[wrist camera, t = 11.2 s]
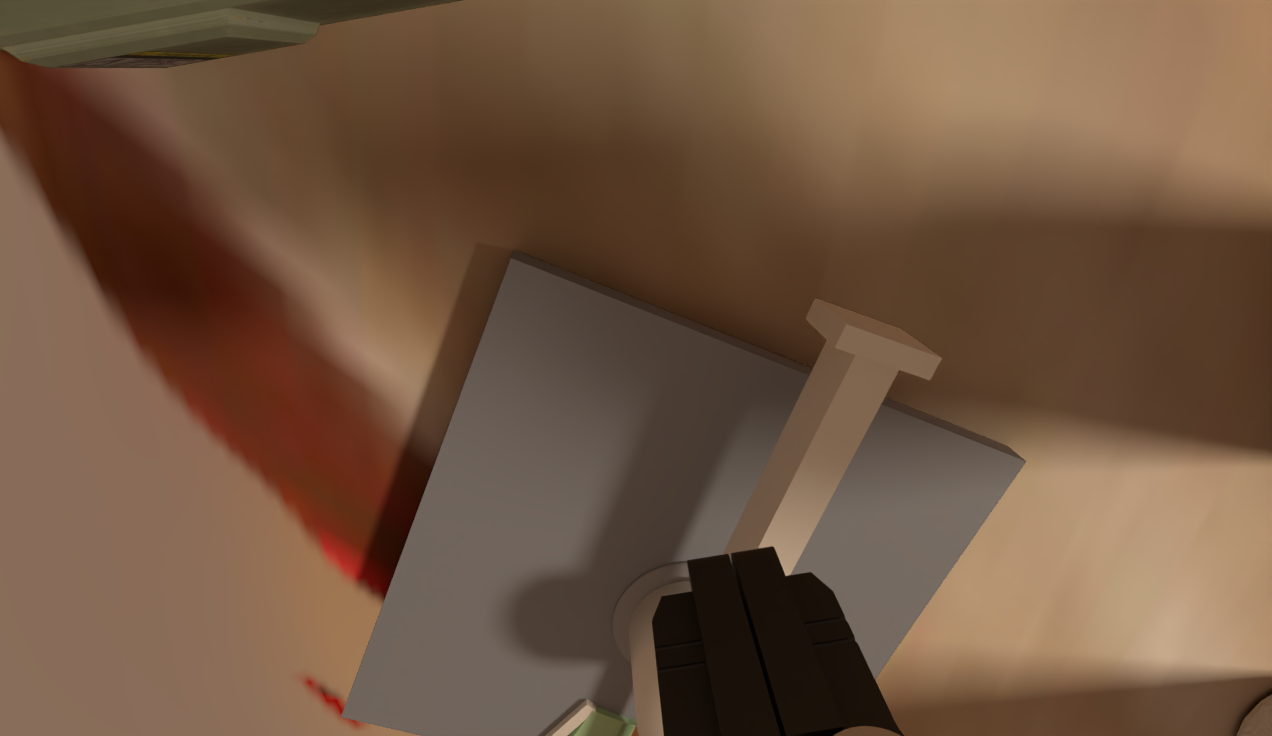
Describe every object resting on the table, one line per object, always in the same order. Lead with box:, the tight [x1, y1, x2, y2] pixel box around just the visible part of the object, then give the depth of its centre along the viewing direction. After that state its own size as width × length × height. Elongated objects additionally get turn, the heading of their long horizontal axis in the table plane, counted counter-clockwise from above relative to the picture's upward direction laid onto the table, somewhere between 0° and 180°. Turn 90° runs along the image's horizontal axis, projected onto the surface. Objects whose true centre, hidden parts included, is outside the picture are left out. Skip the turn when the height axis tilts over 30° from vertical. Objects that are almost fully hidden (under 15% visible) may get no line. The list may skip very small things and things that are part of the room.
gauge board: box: [341, 250, 1026, 736], centre depth 27 cm, size 20×20×2 cm
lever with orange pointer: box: [628, 298, 942, 736], centre depth 24 cm, size 22×4×4 cm, turn 160°
